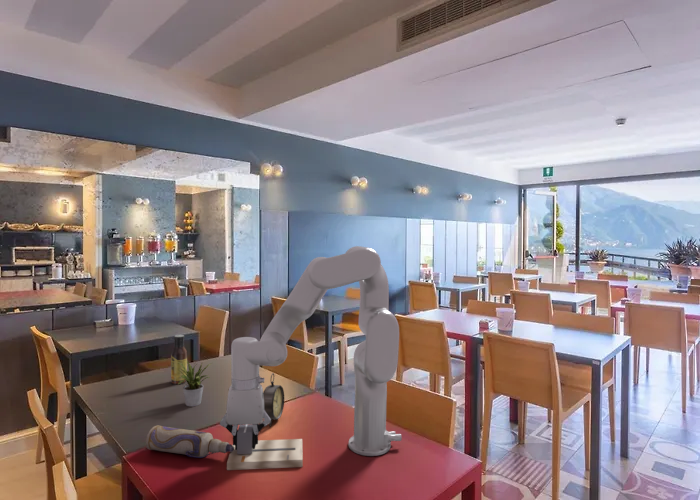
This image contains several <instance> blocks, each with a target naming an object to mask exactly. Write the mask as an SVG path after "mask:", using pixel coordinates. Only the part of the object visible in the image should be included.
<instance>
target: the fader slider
mask: <svg viewBox="0 0 700 500" xmlns="http://www.w3.org/2000/svg"><path fill="white" fill-rule="evenodd" d="M237 430H238V432H237V454H252V451H253V448H252V435H253V431H254V430H253V426H252V424H246V425H238V428H237Z"/></svg>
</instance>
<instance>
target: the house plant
mask: <svg viewBox="0 0 700 500" xmlns="http://www.w3.org/2000/svg"><path fill="white" fill-rule="evenodd" d="M178 363H179V362H178ZM180 364H181V363H180ZM197 364H198V363H197ZM197 364H196V363H194V366H193V367H192V364H190V362H189V361H188V360H187V370H186V369H185V367H184V365H183V364H181V365H182V366H183V368H184V370H185V371H186V372H185V371H184V370H182V369H181V370H182V371H183V372H184V373H185V374H186V373H187V374H186V375H187V376H186V375H184V374H183V373H182V372H181V371H180V372H181V373H182V374H183V375H182V376H181V377H182V379H185V380H186V382H184V381H185V380H182V381H180V382H179V384H177V385H178V386H179V385H180V383H181V384H185V386H183V387H182V390H183V396H184V402H185V406H187V407H196V406H199V405H201V402H202V398H203V397H202V396H203V392H204V391H203V390H204V385H203V384H202V382H203V381H205V379H209V378H210V377H209V376H208V375H205V374H204V375H202V373H203V372H204V371H205V370H206V369H207V368H208V367H209V366H210V365H212V364H213V362H211V363H209V364H207V365H206V366H205V367H203V368H202V365H203V363H201V364H200V366H199V368H198V370H197V371H196V372H195V367H196V365H197ZM179 369H180V368H179ZM202 378H203V379H202ZM175 380H178V379H175ZM182 382H183V383H182ZM186 383H187V384H186Z"/></svg>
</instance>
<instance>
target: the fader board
mask: <svg viewBox="0 0 700 500" xmlns="http://www.w3.org/2000/svg"><path fill="white" fill-rule="evenodd" d="M231 445H232V446H233V447H234V450H233V451H232V452H230V453H229V455H228V459H227V462H226V470H227V471H237V470H239V471H240V470H241V471H242V470H259V469H261V470H262V469H281V468H303V467H304V466H303V463H304V461H303V459H304V458H303V457H304V456H303V455H304V454H303V452H304V451H303V438H291V439H287V438H286V439H266V440H263V439H262V440H259V439H258V444H256V446H255V449H253V451H252V454H237V450H235V445H233V444H231Z"/></svg>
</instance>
